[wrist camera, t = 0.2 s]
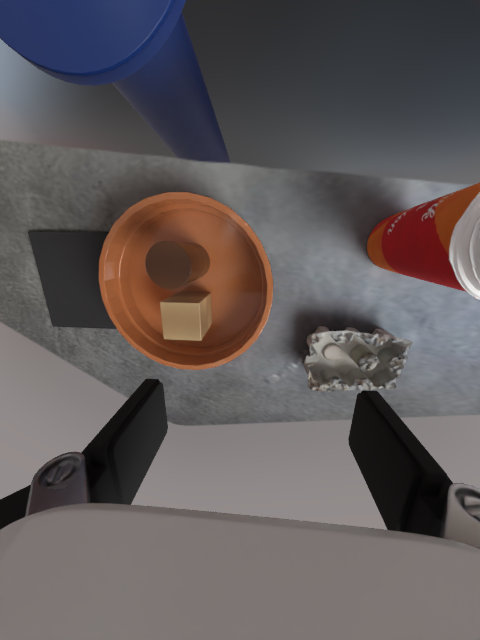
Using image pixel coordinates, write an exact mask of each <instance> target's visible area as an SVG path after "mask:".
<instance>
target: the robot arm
mask: <svg viewBox="0 0 480 640" xmlns="http://www.w3.org/2000/svg"><path fill="white" fill-rule="evenodd" d="M167 429H168V425H167V416H166V407H165V399H164V390H163V384H162V383H161V382H160V381H159V380H158V379H146V380H145V381H144V382H143V383H142V384H141V385H140V386H139V387H138V389H137V390H136V391H135V392H134V393H133V394H132V395H131V397H130V398H129V399H128V400H127V401H126V402H125V403H124V405H123V406H122V407H121V408H120V409H119V410H118V411H117V413H116V414H115V415H114V416H113V417H112V418H111V419H110V421H109V422H108V423H107V424H106V425H105V426H104V427H103V428H102V430H101V431H100V432H99V433H98V434H97V435H96V437H95V438H94V439H93V440H92V441H91V442H90V443H89V444H88V446H87V447H86V448H85V449H84V450H83V452H82V453H80V452H68V453H65V454H62V455H59V456H57V457H55V458H53V459H52V460H50V461H49V462H47V463H46V464H44V466H42V467H41V468H40V469H39V470H38V471H37V473H36V474H35V475H34V477H33V480H32V482H31V485H29V486H27V487H26V488H23V489H21V490H19V491H17V492H15V493H13V494H11V495H9V496H7V497H5V498H3V499H0V640H480V489H478V488H476V487H474V486H471V485H468V484H464V483H454V484H453V483H452V481H451V480H450V479H449V477H448V476H447V474H446V473H445V472H444V470H443V469H442V468H441V467H440V466H439V465H438V463H437V462H436V461H435V460H434V459H433V457H432V456H431V455H430V454H429V452H428V451H427V450H426V449H425V448H424V446H423V445H422V444H421V443H420V442H419V440H418V439H417V438H416V437H415V436H414V434H413V433H412V432H411V431H410V430H409V428H407V426H406V425H405V424H404V422H403V421H402V420H401V419H400V418H399V417H398V415H397V414H396V413H395V412H394V411H393V409H392V408H391V407H390V406H389V405H388V403H387V402H386V401H385V400H384V399H383V397H382V396H381V395H380V394H379V393H378V392H377V391H370V390H363V391H362V392H361V393H358V395H357V399H356V404H355V409H354V414H353V419H352V424H351V429H350V435H349V446H350V449H351V451H352V453H353V455H354V457H355V460H356V462H357V464H358V466H359V468H360V470H361V473H362V475H363V477H364V479H365V481H366V483H367V485H368V488H369V490H370V492H371V494H372V497H373V499H374V501H375V503H376V505H377V507H378V510H379V512H380V514H381V516H382V518H383V520H384V522H385V525H386V527H387V529H388V530H383V529H374V528H366V527H356V526H347V525H338V524H328V523H318V522H309V521H299V520H289V519H279V518H269V517H258V516H249V515H238V514H227V513H218V512H206V511H197V510H186V509H175V508H164V507H152V506H140V505H131V503H132V501H133V499H134V497H135V495H136V493H137V491H138V489H139V487H140V485H141V483H142V481H143V479H144V477H145V475H146V473H147V471H148V469H149V467H150V465H151V463H152V461H153V459H154V457H155V455H156V453H157V451H158V449H159V447H160V445H161V443H162V441H163V439H164V437H165V435H166V433H167Z"/></svg>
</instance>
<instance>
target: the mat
mask: <svg viewBox="0 0 480 640" xmlns="http://www.w3.org/2000/svg"><path fill="white" fill-rule="evenodd" d="M108 233H109V232H28V234H29V237H30V241H31V245H32V249H33V253H34V256H35V260H36V264H37V268H38V271H39V275H40V279H41V283H42V287H43V290H44V294H45V298H46V302H47V306H48V309H49V313H50V317H51V321H52V324H53V326H57V327H83V328H109V329H117V328H116V326H115V325H114V323H113V322H112V320H111V319H110V317H109V315H108V312H107V310H106V307H105V305H104V302H103V300H102V295H101V290H100V284H99V259H100V255H101V251H102V248H103V244H104V241H105V239H106V237H107V235H108Z"/></svg>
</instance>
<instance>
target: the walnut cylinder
mask: <svg viewBox="0 0 480 640" xmlns="http://www.w3.org/2000/svg"><path fill="white" fill-rule="evenodd" d="M145 266H146V271H147V273H148V275H149V277H150V279H151V280H152V281H153V282H154V283H155V284H156V285H158V286H159V287H161V288H164V289H170V290H172V289H177V288H180V287H182V286H184V285H186V284H188V283H190V282H192V281H195V280H197V279H199V278H201V277H203V276H204V275H205V274H206V273H207V272H208V270H209V267H210V258H209V255H208V253H207V251H206V250H205V249H204V248H203V247H202V246H200V245H198V244H194V243H183V242H173V241H161V242H158V243H156V244H154V245H153V246H152V247H151V248H150V249H149V251H148V253H147V255H146V259H145Z"/></svg>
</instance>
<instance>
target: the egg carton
mask: <svg viewBox="0 0 480 640" xmlns="http://www.w3.org/2000/svg"><path fill="white" fill-rule="evenodd" d="M306 341H307V344H308V346H309V348H310V355H307V356H306V359H305V360H304V367H305V369H306V372H307V374H308V375H309V379H308V387H309V388H310V389H311V390H317V391H327V392H328V391H335V389H339V390H344V391H346V390H359V391H363V390H373V389H380V388H381V387H384V388H386V389H395V387H396V385H395V381H396V379H397V378H400V377H401V375H400V372H401V369H403V367H404V363H405V361H406V360H407V351H408V350H409V349H410V348H411V345H412V343H413V342H412V341H409V340H406V339H403V338H399V337H395V336H393V335H392V334H390V333H388V332H387V331H385V330H384V329H375V330H374V332H373V333H372V334H369V333H360V332H359V331H358V330H356V329H355V328H352V327H351V328H349V327H347V328H346V329H345V331H329V329H328V328H327V327H324V326H320V327H318V328H317V330H316V331H315V332H314V333H313V334H310V335H309V336H308V338H307V340H306Z"/></svg>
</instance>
